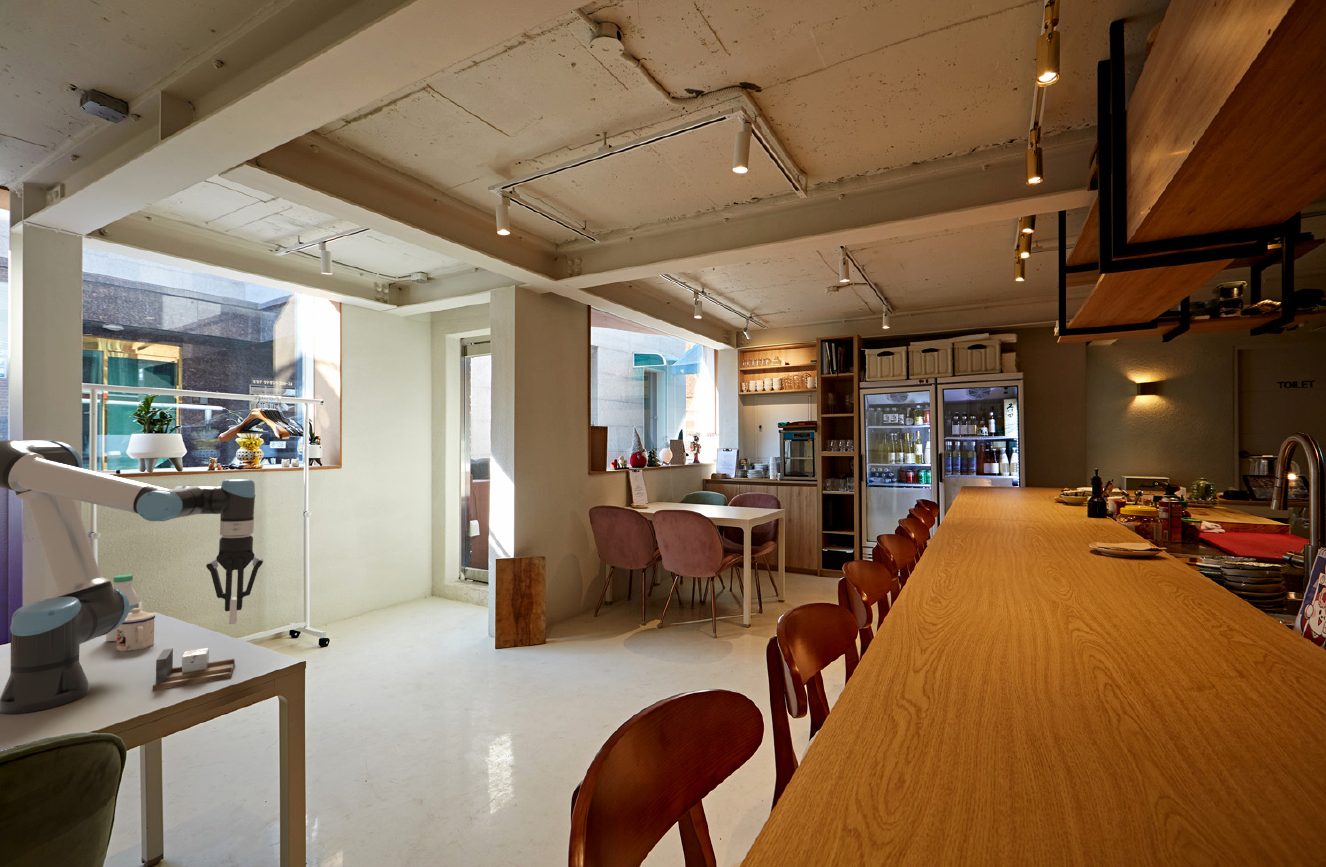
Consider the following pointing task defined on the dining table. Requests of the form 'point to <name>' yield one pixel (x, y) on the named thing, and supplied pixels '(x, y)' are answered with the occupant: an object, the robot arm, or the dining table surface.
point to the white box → (195, 661)
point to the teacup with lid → (136, 631)
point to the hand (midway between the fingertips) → (232, 622)
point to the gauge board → (174, 676)
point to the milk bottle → (125, 586)
